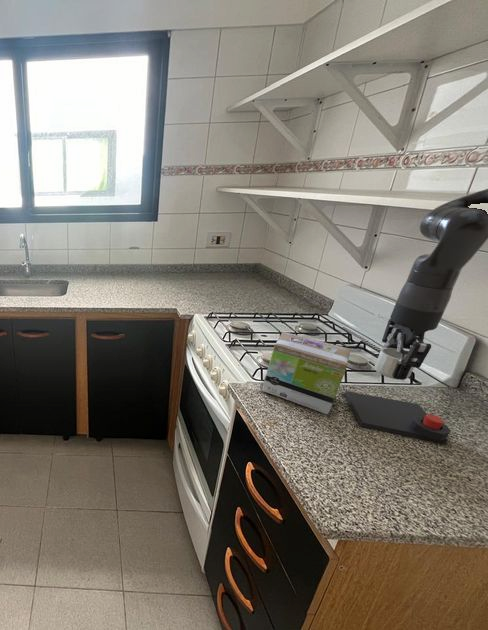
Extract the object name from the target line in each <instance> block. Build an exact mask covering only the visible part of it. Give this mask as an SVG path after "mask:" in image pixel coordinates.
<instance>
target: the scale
mask: <svg viewBox="0 0 488 630" xmlns="http://www.w3.org/2000/svg"><path fill="white" fill-rule="evenodd" d="M343 395H344V397H345V399H346V401H347V403H348V404H349V406H350V408H351V411H352V412H353V414H354V416H355V418H356V420H357V422H358V424H359V425H360V427H361V428H367V429H372V430H377V431H381V432H386V433H390V434H396V435H400V436H405V437H410V438H415V439H418V440H419V439H420V440H424V441H429V442H434V443H439V444H443V445H446V444H447V442H448V436H449V435H450V432H451V429H450V428H449V427H448V425H446V424H445V423H443V424H442V426H441V428H440V430H435V429H432V428H429V427H427V426H425V425H424V424H423V423H422V422H423V420H424V418H425V416H426V415H427V412H426V411H425V410H424V409H423V408H422V406H421V405H420V403H414V402H409V401H402V400H397V399H392V398H386V397H381V396H376V395H375V396H374V395H371V394H364V393H359V392H354V391H349V390H345V391H344V393H343Z"/></svg>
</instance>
